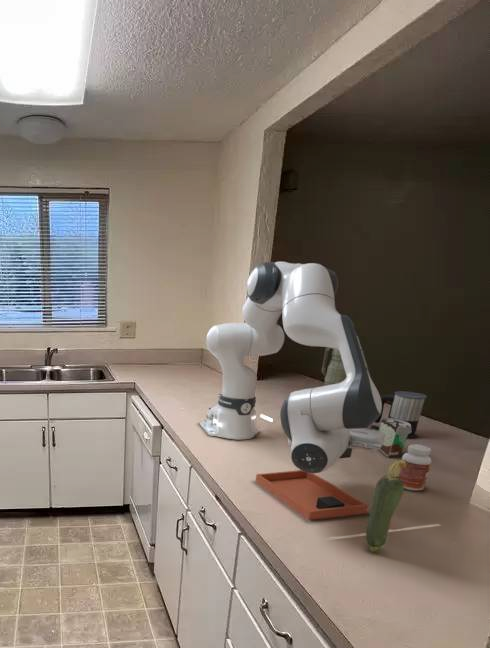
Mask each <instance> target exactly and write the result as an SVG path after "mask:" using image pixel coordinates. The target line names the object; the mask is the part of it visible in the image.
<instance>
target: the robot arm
mask: <svg viewBox="0 0 490 648" xmlns="http://www.w3.org/2000/svg"><path fill="white" fill-rule="evenodd" d="M246 283H247V284H246V295H247V298H246V300H245V302H244V303H243V306H242V309H241V314H242V318H243V321H244V322H225V323H220V324H216V325H213V326H212V327H210V328H209V330H208V332H207V334H206V338H205V344H206V345H205V346H206V349H207V350H208V351H209V353H210V354H211V355H212V356H214V357H215V358H216V359H217V361H218V362H219V365H220V367H221V370H222V372H221V373H222V386H221V387H222V388H221V389H222V390H221V393H219V394H218V400H217V404H215V405H214V406H212V407H209V408H208V410H207V413H206V415H205V419H203V420H201V421H199V425H200V426H201V428H203V430H204V431H205V432H206V433H207V434H208V436H211V437H218V438H223V439H228V440H237V441H239V440H240V441H241V440H250V439H253V438H255V436H256V434H257V433H258V432H259V429H257V428H256V426H257V411H256V409H255V407H256V403H257V397H256V389H257V383H258V376H257V375H258V374H257V373H256V371H255V370H254V369H252V368H251V367H249V366H247V365H245V363H244V357H263V356H269V355H273V354H277V353H278V352H279V351H281V349H282V347H283V345H284V342H285V334H286V336H287V337H288V338H289V339H291V341H293V342H295V343H297V344H300V345H303V346H309V347H320V348H321V347H323V348H328V347H330V349H331V348H334V349H337V350H339V351H340V355H341V358H342V362H343V365H344V369H345V372H346V376H347V377H346V379H345V380H344V381H343V382H341V383H337V384H332V385H327V386H325V385H322V386H316V387H309V388H304V389H298V390H295V391H291V392H290V393H289V394H287V396H286V397H285V398H284V401H283V403H282V405H281V407H280V412H279V413H280V414H279V417H280V423H281V428H282V430H283V433H284V435H285V436H286V437H287V444H288V445H290V446H291V447H290V452H289V453H290V460H291V462H292V464H293V465H294V466H295V467H296V469H298V470H302V471H304V472H307V473H313V474H321V473H323V472H325V471H328V470H329V469H330V468H331V467H333V466H334V465H335V464H336V463H337V462H338V461H339V460H340V459H341V458H340V456H341V455H342V454H343V453H344V452H345V450H346V449H347V448H351V449H352V450H356V451H362V452H368V453H373V452H376V451H378V450H379V449H380V448H381V447H382V445H383V441H384V437H385V433H384V432H382V431H378V430H372V429H371V428H369V427H371V426H372V425H373V424H374V423H375V421H376V420H377V419H378V418H379V416H380V415H381V410H382V402H381V395H380V393H379V390H378V389H377V386H376V385H375V383H374V381H373V378H372V374H371V372H370V368H369V364H368V361H367V358H366V355H365V351H364V352H363V350H364V349H363V346H362V343H361V340H360V336H359V334H358V331H357V329H356V326H355V324H354V322H353V320H351V318H350V317H349V315H347V314H340V313H339V311H337V309H336V301H335V296H336V294H337V291H338V288H339V279H338V276H337V274H336V272H335V271H333V270H331V269H330V268H327V267H325V266H323V265H322V264H321V263H316V262H310V263H292V262H291V263H290V262H287V261H282V260H281V261H276V262H274V261H264V262H260V263H258V264H257V265H256V266H254V268H252V270H251V272H250V275H249V276H248V279H247V282H246ZM280 317H282V325H283V328H282V327H281V326H280V325H279V324H278V322H279V321H278V320H279V319H280ZM260 418H262V419H264V420H267V421H269V422H271V423H272V422H273V418H271V417H269V416H267V415H264V414H262V413H261V414H260ZM339 458H340V459H339Z"/></svg>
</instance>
